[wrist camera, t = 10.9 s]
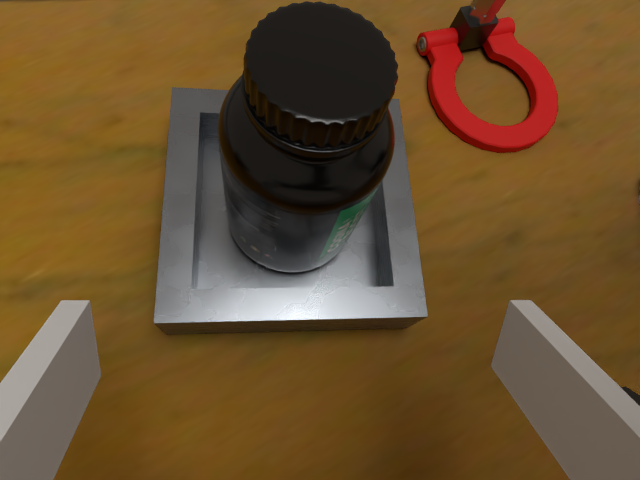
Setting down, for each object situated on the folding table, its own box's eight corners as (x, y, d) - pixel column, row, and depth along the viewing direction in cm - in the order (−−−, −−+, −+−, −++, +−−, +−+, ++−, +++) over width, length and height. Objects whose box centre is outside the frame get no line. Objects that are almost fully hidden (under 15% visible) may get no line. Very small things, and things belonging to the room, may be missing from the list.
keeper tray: (383, 131, 29) (398, 99, 26) (406, 327, 24) (427, 316, 21) (180, 123, 27) (172, 87, 24) (166, 334, 23) (153, 323, 20)
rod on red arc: (569, 140, 31) (508, 26, 34) (798, -36, 18) (672, -201, 21) (456, 170, 29) (400, 45, 32) (625, -4, 16) (508, -193, 19)
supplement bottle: (360, 269, 24) (453, 150, 13) (231, 281, 23) (216, 161, 12) (340, 158, 27) (406, -22, 16) (222, 164, 25) (202, -27, 14)
